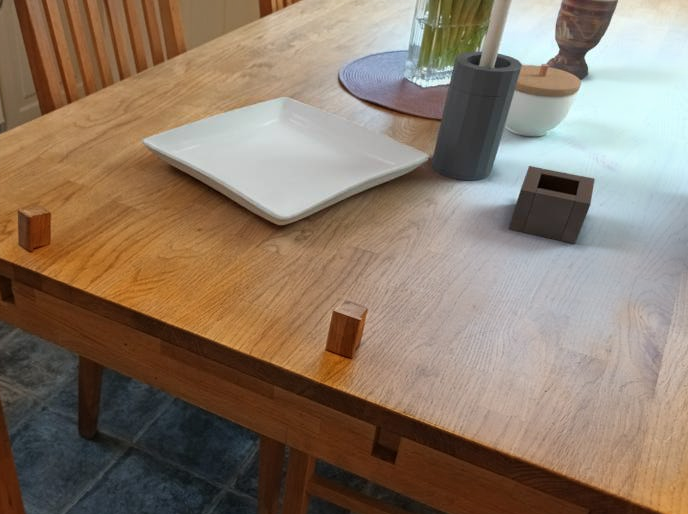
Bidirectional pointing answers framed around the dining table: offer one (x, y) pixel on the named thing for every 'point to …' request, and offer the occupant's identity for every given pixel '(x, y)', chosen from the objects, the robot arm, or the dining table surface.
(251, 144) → the square plate
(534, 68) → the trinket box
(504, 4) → the brush
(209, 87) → the dining table surface
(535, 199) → the holder
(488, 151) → the dark grey cylindrical container
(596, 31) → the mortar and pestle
